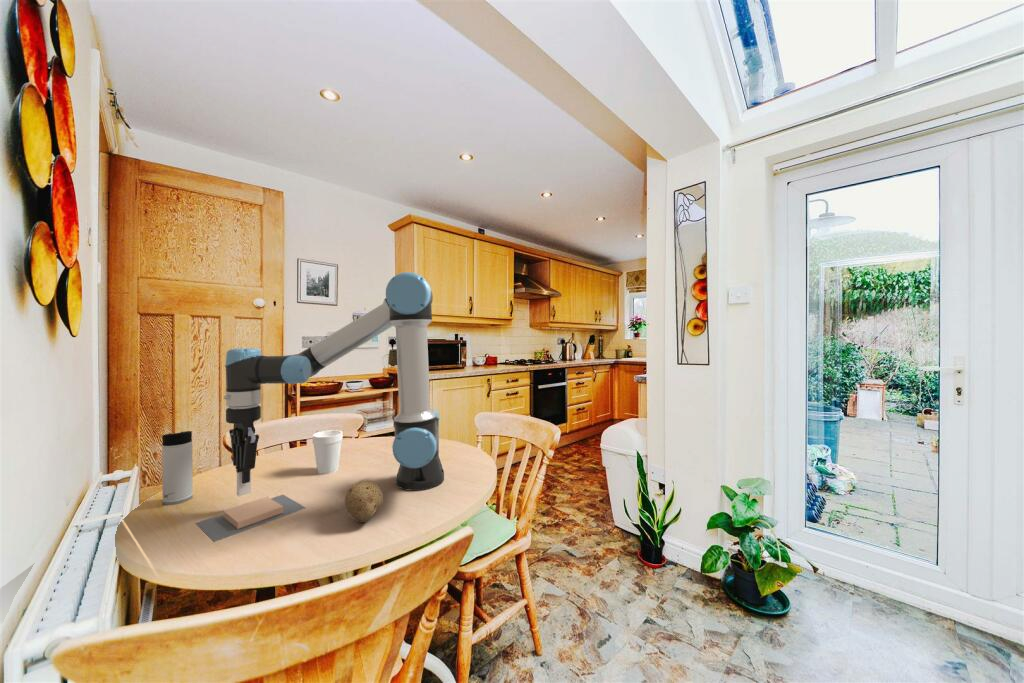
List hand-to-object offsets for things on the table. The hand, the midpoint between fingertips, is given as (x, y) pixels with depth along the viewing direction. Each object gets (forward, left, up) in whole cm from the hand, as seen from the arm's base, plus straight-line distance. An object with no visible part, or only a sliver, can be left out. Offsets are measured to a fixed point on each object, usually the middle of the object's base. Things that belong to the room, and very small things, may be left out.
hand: (243, 493), depth 97 cm
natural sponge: (-30, -16, -5) cm, 35 cm away
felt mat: (-5, 0, -5) cm, 7 cm away
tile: (-1, 0, -3) cm, 3 cm away
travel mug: (+22, +9, -5) cm, 24 cm away
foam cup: (+11, -28, -5) cm, 31 cm away
